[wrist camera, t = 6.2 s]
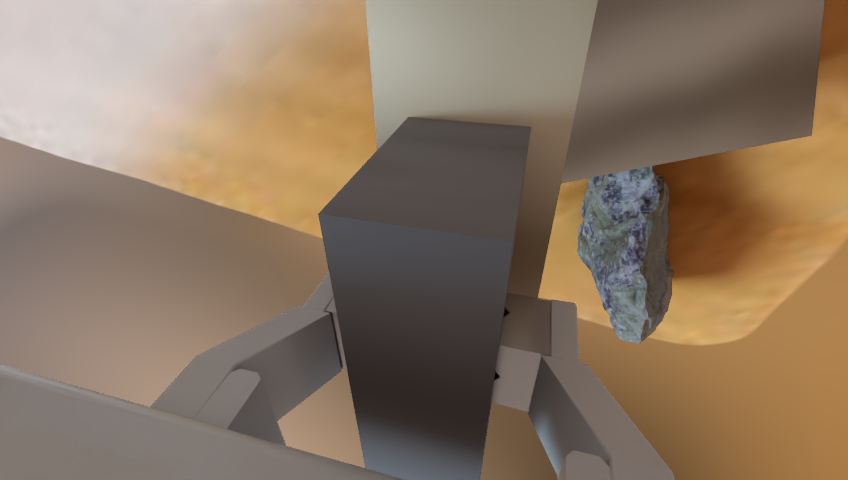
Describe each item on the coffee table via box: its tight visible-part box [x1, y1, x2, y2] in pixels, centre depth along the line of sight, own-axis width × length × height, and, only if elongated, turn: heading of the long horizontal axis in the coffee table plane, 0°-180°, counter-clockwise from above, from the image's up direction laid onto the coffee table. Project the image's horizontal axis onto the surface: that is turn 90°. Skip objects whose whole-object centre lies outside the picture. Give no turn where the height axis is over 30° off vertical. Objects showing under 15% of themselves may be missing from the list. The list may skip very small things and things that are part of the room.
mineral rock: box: [577, 166, 674, 343], centre depth 30 cm, size 13×11×10 cm
